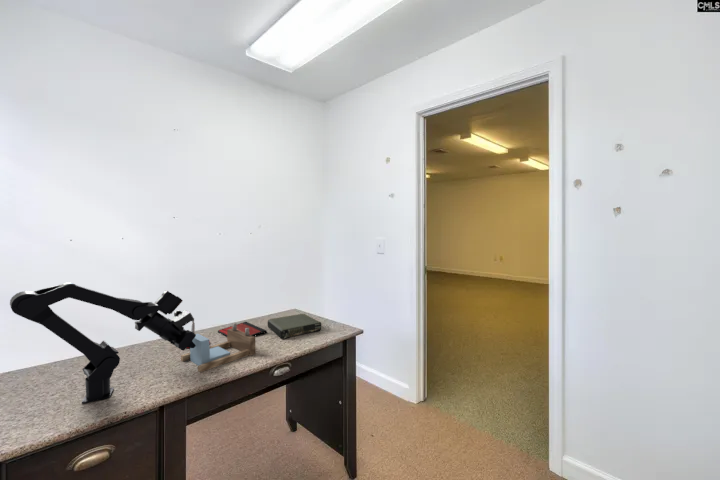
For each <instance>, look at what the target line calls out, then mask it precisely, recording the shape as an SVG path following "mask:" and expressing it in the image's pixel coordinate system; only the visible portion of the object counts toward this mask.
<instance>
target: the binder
mask: <svg viewBox="0 0 720 480" xmlns="http://www.w3.org/2000/svg"><path fill="white" fill-rule="evenodd" d="M236 324H237V330H239V331H241V332H244V333H245V328H249V335H252V336H254V337H255V335H258V334H259V333H261V334H263V333H262V332H265V333H264V334H266V333H268V331H267V330H266V329H264V328H261V327H259V326H257V325H254V324H252V323H250V322H249V321H243V322H241V323H236ZM231 328H233V325H230V326H228V327H224V328H221V329H219V330H217V333H218V334H220V333H221V335H223V336H225V337H227V329H231ZM259 335H260V334H259ZM255 338H256V337H255Z"/></svg>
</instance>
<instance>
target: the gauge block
mask: <svg viewBox="0 0 720 480" xmlns="http://www.w3.org/2000/svg"><path fill="white" fill-rule="evenodd" d="M195 334H196V336H195V338H194V339H193V340H192V341H193V343H194V344H195V345H196V346H195V347H194V348H189V353H190V359H189V360H190V362H192V363H193V364H194V365H197V366H198V365H201V364H204V363H207V362H210V361H213V360H216V359H219V358H222V357H225V356H228V355H231V351H228V350H227V349H226V348H224V349H223V348H221V347H219V346H217V347H214V348H211V349H210V347H211V346H210V344H209V341H210V338H208V337H206V336H205V335H202V334H200V333H195Z"/></svg>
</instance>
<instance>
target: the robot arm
mask: <svg viewBox="0 0 720 480" xmlns="http://www.w3.org/2000/svg"><path fill="white" fill-rule="evenodd" d="M66 299H73V300H76V301H81V302H83V303H88V304H92V305H95V306H98V307H101V308H104V309H107V310H111V311H114V312H116V313H118V314H119V315H122V316H124V317H127V318H128V319H131V320H133V321H134V325H135V326H134V329H135V330H136V331H138V332H140V331H142V329H143V328H146V329H147V330H149V331H150V332H153V333H154V334H155V335H158V337H159V338H161V339H162V340H164V341H167V342H169V343H170V344H172V345H174V346H175V347H176V348H178V349H179V350H181V351H185V350H186V349H190V348H194V347H195V346H196V345H195V344H194V343H193V341H192V340H193V339H194V338H195V336H196V334H197V333H195V332H194V333H193V332H191V330H189V329H185V328H184V326H186V325H187V324H189V323H190V322H192V321H193V320H194V321H195V318H194V316H193V315H192V313H191V312H190V311H189V310H183V311H181V310H179V309H177V308H178V307H179V306H180V305H181V303H183V299H182V298H180V296H177V295H175V294H173V293H172V292H170V291H169V290H164V291H163V292H162V294H161V295H160V296H159V297H158V298H157V299H156V301H155V302H153V301H145V302H144V301H140V300H137V299H132V298H125V297H124V298H123V297H116V296H113V295H110V294H106V293H104V292H99V291H96V290H93V289H90V288H87V287H85V286H80V285H78V284H75V283H74V282H70V281H69V282H68V281H67V282H63V283H60V284H58V285H53V286H49V287H45V288H42V289H37V290H34V291H33V290H24V291H19V292H17V293H15V294H14V295H12V297H11V298H10V300H9V306H10V309H11V310H12V312H13V313H14V314H15V315H17V316H19V317H22V318H24V319H26V320H29V321H31V322H34V323H36V324H39V325H41V326H43V327H44V328H46V329H48V331H50V332H51V333H53V334H54V335H56V336H57V337H58V338H60V339H61V340H63V341H64V342H66V343H68V345H70V346H71V347H73V348H74V349H76V350H77V351H79V352H80V353H81V354H83V356H84V357H85V358H86V359H87V360H88V361H89V362H88V363H87V364H86V365H85V366H84V367H83V368H82V370H81V371H82V372H83V374H84V376H86V378H85V379H84V381H85V382H84V383H85V384H84V385H85V396H84V397H83V399H82V400H81V404H87V403H92V402H97V401H100V400H101V401H102V400H105V399H106V400H107V399H109V398H110V397H111V395H112V394H113V391H114V390H115V389H114V387H113V386H112V387H111V378H112V375H113V373H114V372H115V371H114V370H115V369H116V368H117V367H118V366H119V364H120V361H121V357H120V356H119V351H118V350H117V349H116V348H115V347H114V346H111V345H109V344H108V343H107V342H106V340H102V341H101V342H100V343H98V342H96V341H93V340H92V339H91V338H89V337H88V336H87V335H85V334H84V333H83V332H81V331H80V330H78V329H77V328H76V327H75V326H73V325H71V324H70V323H69V322H68V321H66V320H65V319H64V318H62V317H61V316H60V315H58V314H57V313H55V311H54V310H53V309H52V308H51V307H50V306H51V305H54V304H56V303H58V302H61V301H63V300H66ZM176 309H177V310H176ZM175 310H176V311H175ZM173 312H174V313H173ZM161 313H162V314H164V315H166V316H167V315H171V314H173V315H174V316H173V318H171V319H170V318H167V317H165V316H164V315H162V314H161Z"/></svg>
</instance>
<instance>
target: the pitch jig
mask: <svg viewBox="0 0 720 480" xmlns="http://www.w3.org/2000/svg"><path fill="white" fill-rule="evenodd" d="M237 324H238V323H235V322H234V323H232V326H233V328H231V329H227V336H226V338H227V341H225V342H221V343H218V344H215V345H211V346H210V349H211V348H214V347H217V346H219V347H221V348H223V349H228V348H233V349H235V350H237V352H235V353H230V355H228V356H225V357H222V358H219V359H216V360H213V361H210V362H207V363H204V364H201V365H197V372H199V373H202V372H205V371H208V370H211V369H213V368H216V367H218V366H219V367H221V366H222V365H225V364H228V363H231V362H234V361H236V360H239V359H242V358H244V357H248V356H253V355H256V337H254V336H252V335H249V328H245V333H244V332H241V331H239V330H237ZM180 360H181V362H185V361H189V360H190V352H188V353H184V354H180Z"/></svg>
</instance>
